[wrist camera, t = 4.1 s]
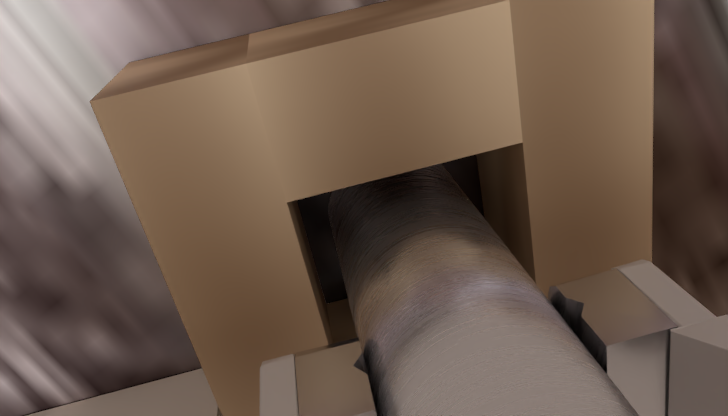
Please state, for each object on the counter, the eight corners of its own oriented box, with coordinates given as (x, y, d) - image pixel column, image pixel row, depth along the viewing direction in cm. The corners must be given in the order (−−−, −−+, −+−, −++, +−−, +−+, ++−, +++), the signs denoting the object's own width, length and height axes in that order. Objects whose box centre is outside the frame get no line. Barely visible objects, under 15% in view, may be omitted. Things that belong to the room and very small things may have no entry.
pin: (460, 109, 13) (890, 488, 4) (480, 255, 15) (820, 750, 6) (292, 152, 13) (364, 647, 4) (331, 294, 15) (444, 871, 6)
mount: (567, -43, 12) (654, -35, 9) (585, 312, 16) (650, 389, 13) (129, 62, 12) (89, 101, 9) (258, 401, 16) (257, 499, 13)
